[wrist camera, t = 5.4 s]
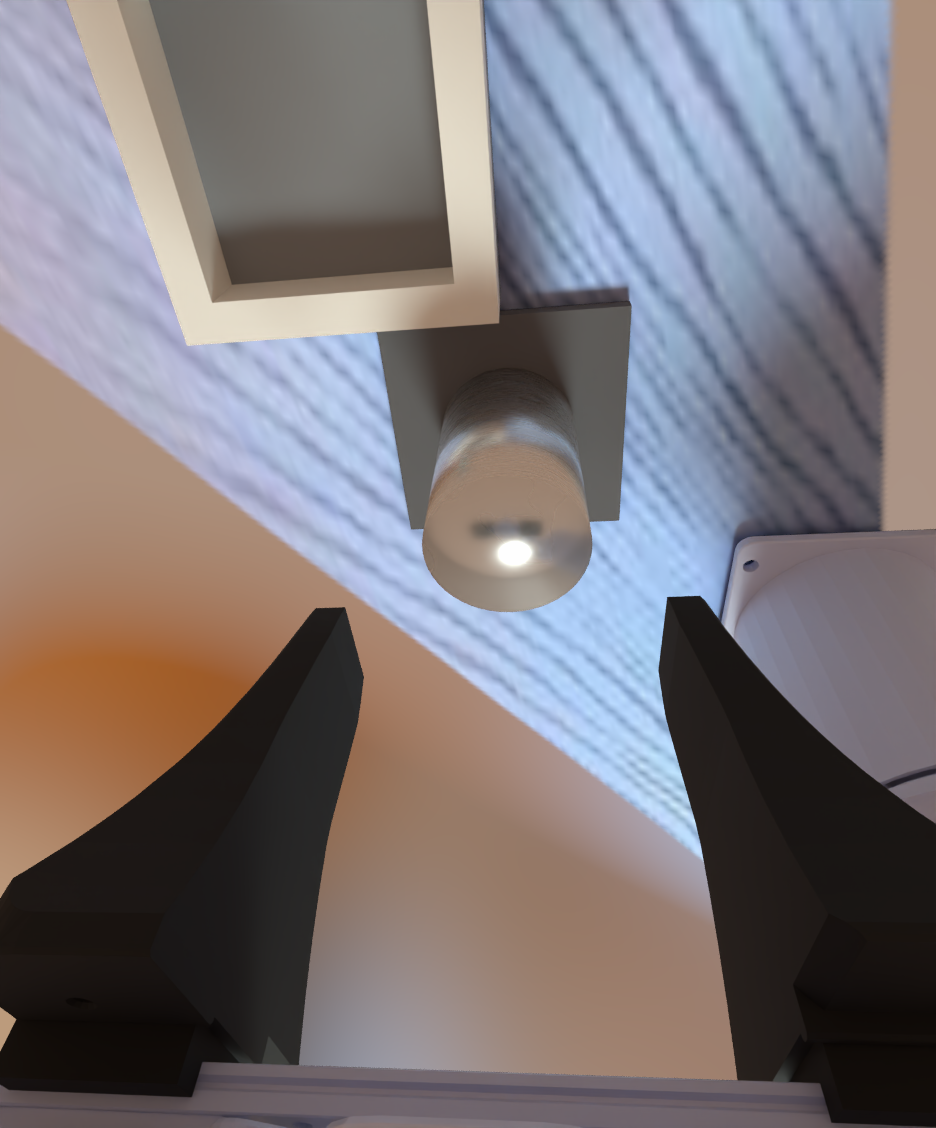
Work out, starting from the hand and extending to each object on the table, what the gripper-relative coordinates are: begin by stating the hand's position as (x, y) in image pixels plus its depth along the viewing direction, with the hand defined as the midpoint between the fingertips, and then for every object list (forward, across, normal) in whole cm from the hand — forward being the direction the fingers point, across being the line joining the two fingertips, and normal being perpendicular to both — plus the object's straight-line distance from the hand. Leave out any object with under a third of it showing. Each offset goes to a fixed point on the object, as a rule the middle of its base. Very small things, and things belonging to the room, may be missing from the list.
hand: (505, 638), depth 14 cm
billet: (+9, 0, 0) cm, 9 cm away
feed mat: (+9, 0, 0) cm, 9 cm away
